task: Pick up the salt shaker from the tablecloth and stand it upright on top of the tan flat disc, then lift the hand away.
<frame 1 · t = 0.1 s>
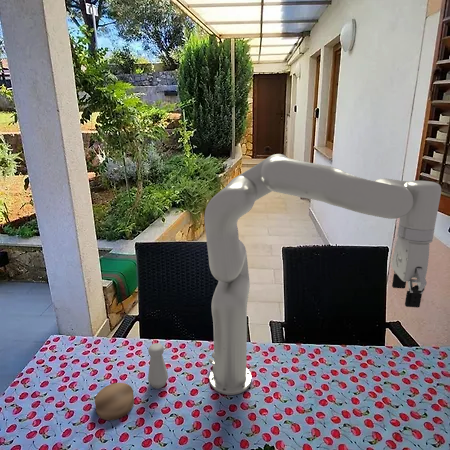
hand: (404, 296, 87), 31 cm above the table, tool pointing down, fingers open, 9 cm apart
salt shaker: (158, 384, 101), on the table
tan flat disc: (115, 405, 94), on the table
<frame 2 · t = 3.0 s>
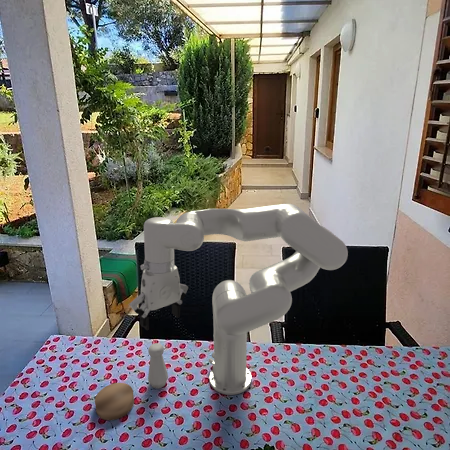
hand: (161, 321, 94), 21 cm above the table, tool pointing down, fingers open, 9 cm apart
nothing on the table moved.
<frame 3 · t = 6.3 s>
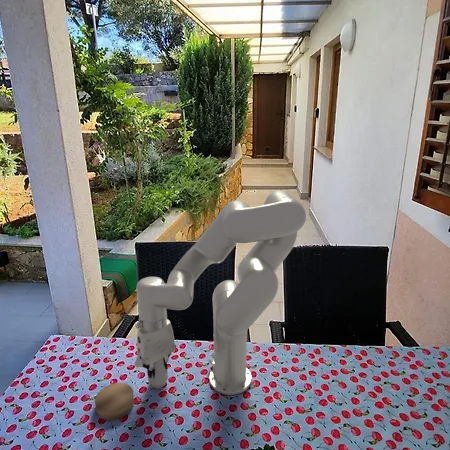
hand: (157, 374, 100), 3 cm above the table, tool pointing down, fingers closed on salt shaker, 3 cm apart
salt shaker: (158, 384, 101), on the table, touching gripper
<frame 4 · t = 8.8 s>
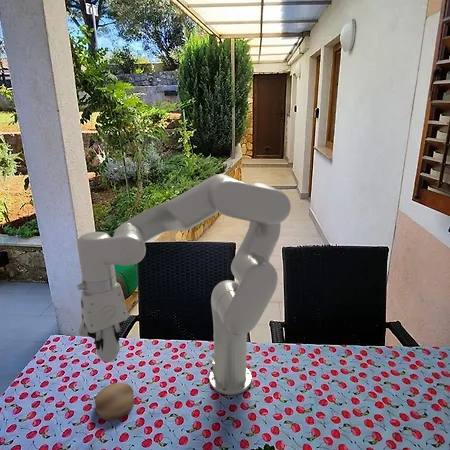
hand: (108, 346, 88), 19 cm above the table, tool pointing down, fingers closed on salt shaker, 3 cm apart
salt shaker: (109, 357, 89), point 15 cm above the table, touching gripper
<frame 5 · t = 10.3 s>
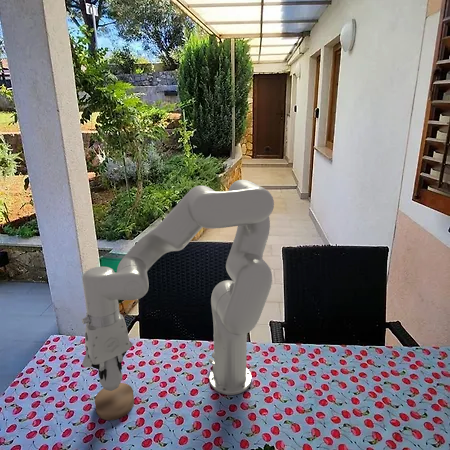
hand: (111, 375, 91), 10 cm above the table, tool pointing down, fingers closed on salt shaker, 3 cm apart
salt shaker: (112, 386, 92), point 6 cm above the table, touching gripper
when the fingers open (7 cm above the table, at t = 11.5 s): salt shaker stays where it is, resting on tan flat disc.
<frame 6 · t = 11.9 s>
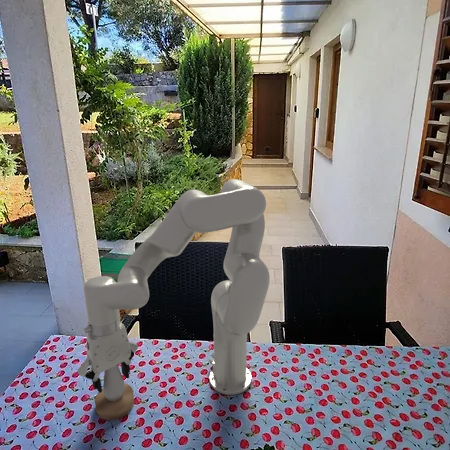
hand: (112, 381, 91), 8 cm above the table, tool pointing down, fingers open, 7 cm apart
salt shaker: (115, 396, 93), point 3 cm above the table, touching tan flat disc
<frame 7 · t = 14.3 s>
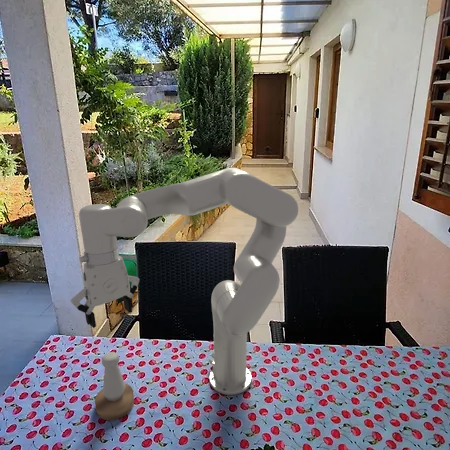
hand: (111, 317, 87), 26 cm above the table, tool pointing down, fingers open, 9 cm apart
nothing on the table moved.
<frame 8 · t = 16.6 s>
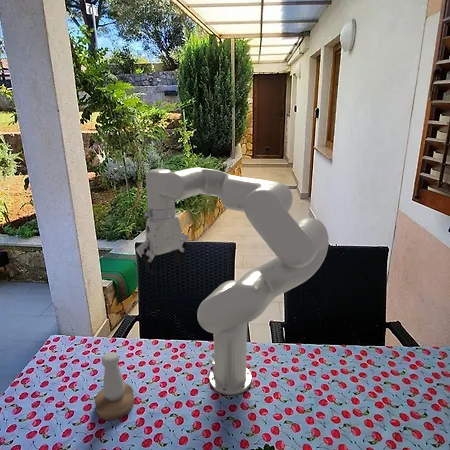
hand: (165, 268, 102), 32 cm above the table, tool pointing down, fingers open, 9 cm apart
nothing on the table moved.
at the end: salt shaker inside the target area on the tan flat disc (0.2 cm from its centre), point 2.8 cm above the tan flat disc's base; salt shaker tilted 0°; the gripper is holding nothing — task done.
